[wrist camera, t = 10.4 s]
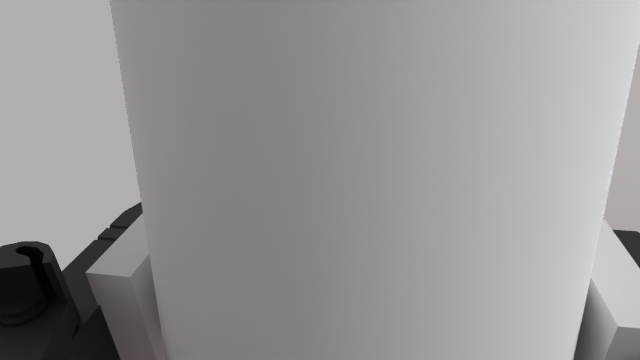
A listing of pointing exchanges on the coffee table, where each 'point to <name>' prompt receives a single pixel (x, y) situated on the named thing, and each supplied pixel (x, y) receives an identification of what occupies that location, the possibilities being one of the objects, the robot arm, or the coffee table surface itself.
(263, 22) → the champagne flute
